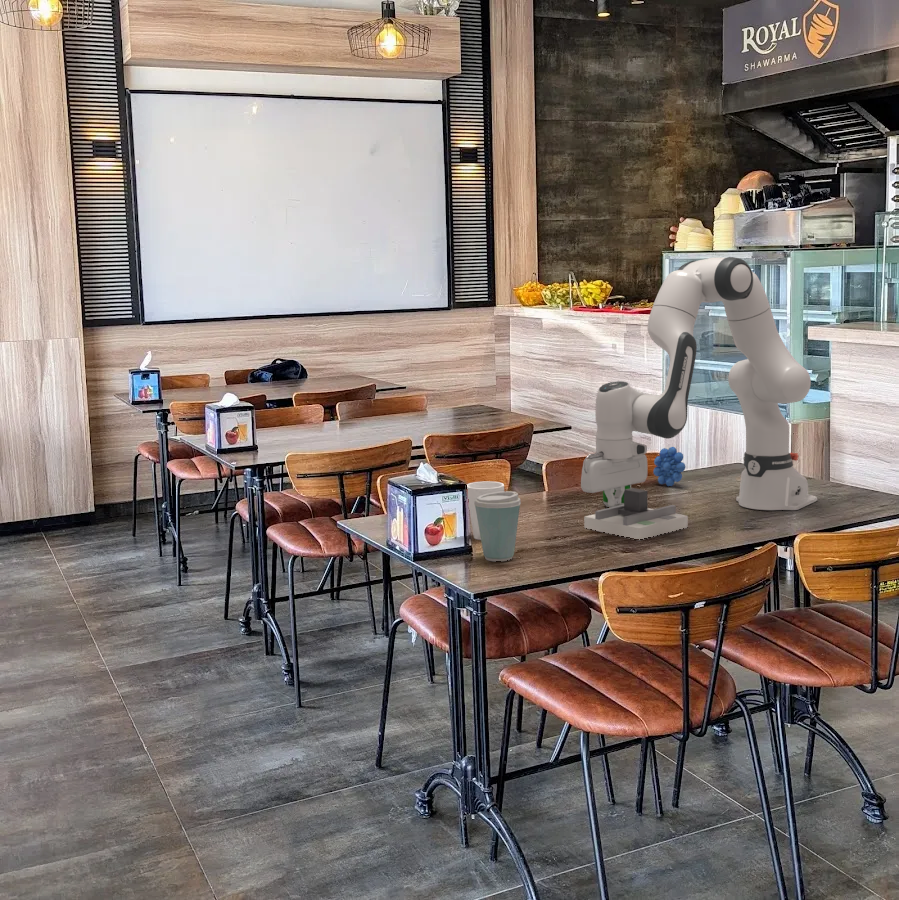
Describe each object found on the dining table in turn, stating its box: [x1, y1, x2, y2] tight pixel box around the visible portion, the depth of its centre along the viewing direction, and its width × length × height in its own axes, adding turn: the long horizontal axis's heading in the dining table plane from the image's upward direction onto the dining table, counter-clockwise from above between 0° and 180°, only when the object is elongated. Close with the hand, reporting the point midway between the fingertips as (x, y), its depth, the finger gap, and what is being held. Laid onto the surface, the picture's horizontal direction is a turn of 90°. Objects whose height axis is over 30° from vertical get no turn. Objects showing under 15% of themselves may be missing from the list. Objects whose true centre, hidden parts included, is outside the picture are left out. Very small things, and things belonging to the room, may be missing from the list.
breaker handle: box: [618, 487, 649, 516], centre depth 276 cm, size 5×7×6 cm
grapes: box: [653, 446, 687, 487], centre depth 325 cm, size 12×7×12 cm, turn 38°
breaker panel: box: [583, 499, 689, 541], centre depth 276 cm, size 18×18×5 cm
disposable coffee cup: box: [474, 490, 522, 562], centre depth 251 cm, size 11×11×15 cm
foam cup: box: [466, 480, 505, 541], centre depth 271 cm, size 10×9×13 cm
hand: (614, 505), depth 271 cm, fingers closed
